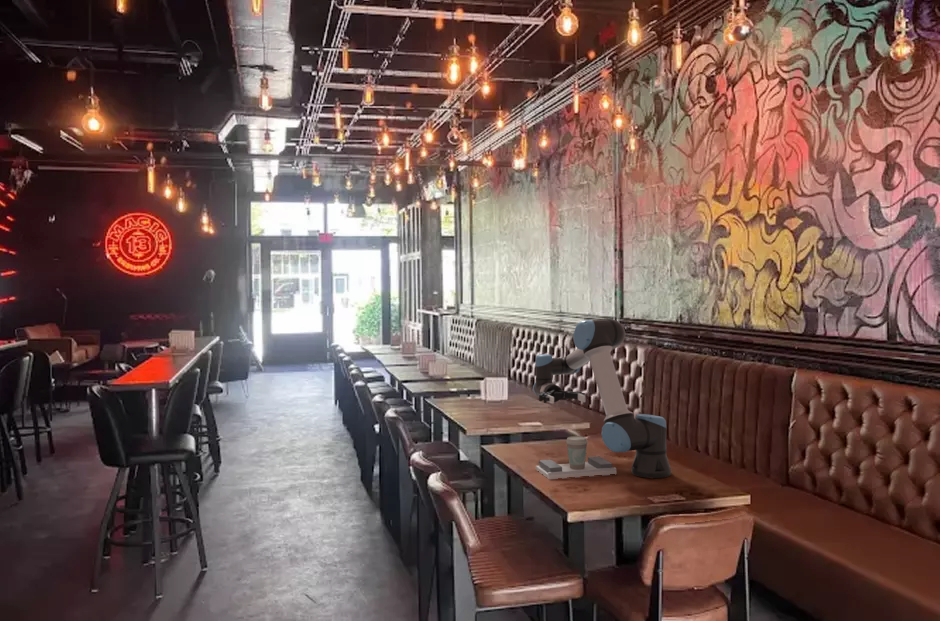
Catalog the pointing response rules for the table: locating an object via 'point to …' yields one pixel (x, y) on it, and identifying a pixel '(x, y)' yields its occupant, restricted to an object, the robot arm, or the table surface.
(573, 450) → the coffee cup
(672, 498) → the table surface
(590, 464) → the rail plate
